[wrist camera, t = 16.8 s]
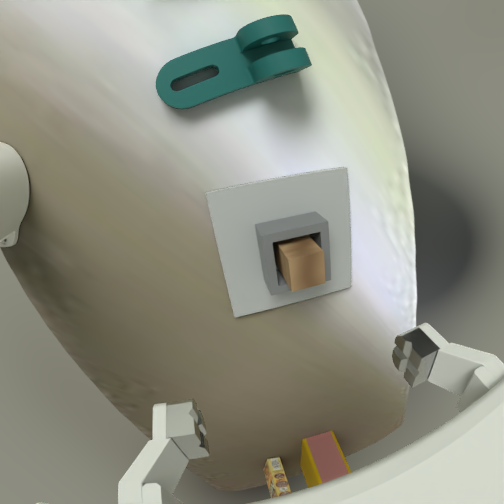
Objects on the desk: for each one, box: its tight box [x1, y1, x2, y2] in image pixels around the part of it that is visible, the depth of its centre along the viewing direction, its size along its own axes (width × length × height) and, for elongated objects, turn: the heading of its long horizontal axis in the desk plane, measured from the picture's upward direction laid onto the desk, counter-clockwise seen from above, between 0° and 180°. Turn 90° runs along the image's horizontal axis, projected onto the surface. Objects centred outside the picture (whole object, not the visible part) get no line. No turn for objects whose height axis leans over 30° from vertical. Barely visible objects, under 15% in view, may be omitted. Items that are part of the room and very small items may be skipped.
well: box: [206, 167, 351, 317], centre depth 41 cm, size 20×20×6 cm
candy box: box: [264, 457, 291, 498], centre depth 66 cm, size 9×4×15 cm, turn 175°
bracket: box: [156, 15, 312, 109], centre depth 29 cm, size 18×7×8 cm, turn 111°
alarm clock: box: [300, 431, 351, 488], centre depth 62 cm, size 21×9×26 cm, turn 6°
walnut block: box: [273, 235, 325, 292], centre depth 39 cm, size 4×4×8 cm
